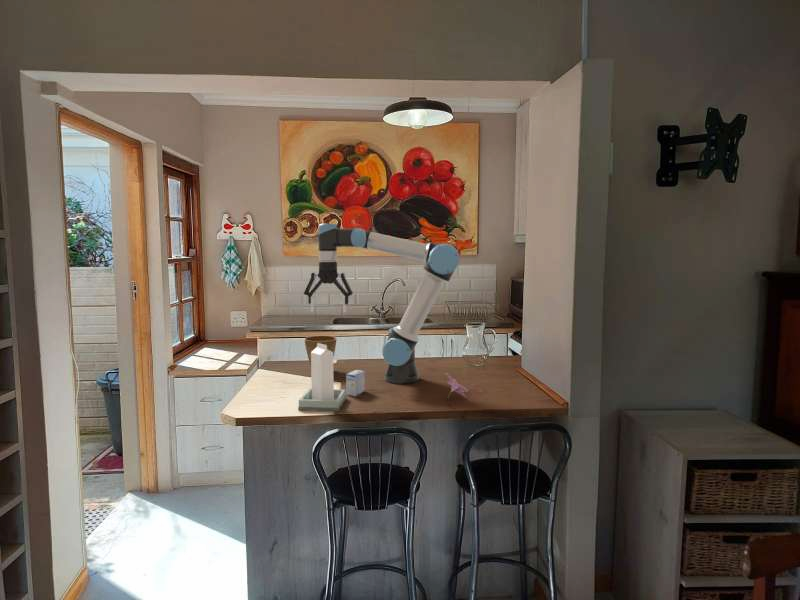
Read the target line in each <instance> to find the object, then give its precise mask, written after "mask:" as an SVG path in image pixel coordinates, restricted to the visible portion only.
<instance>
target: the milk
mask: <svg viewBox="0 0 800 600" xmlns="http://www.w3.org/2000/svg"><path fill="white" fill-rule="evenodd" d="M310 372H311V379H310V381H311V389H312V400H334V389H335V386H334V383H335V382H334V381H335V380H334V357H333V352H331V351H330V350H328V349H327V345H324V344H320V343H317V347H316V348H315V349H314V350H313V351H312V352H311V365H310Z"/></svg>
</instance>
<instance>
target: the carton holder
mask: <svg viewBox="0 0 800 600" xmlns="http://www.w3.org/2000/svg"><path fill="white" fill-rule="evenodd" d="M346 399H347V395H346V389H337V388H334V400H312V388H308V389H307V390H306V392H304V393H303V395H302V396H301V397H300V398H299V399H298V406H297V407H298V408H297V409H298V411H311V410H316V411H315V412H317V411H318V412H320V411H321V412H339V411H340V409H341V408H342V406H343V404H344V403H343V402H345V401H346ZM340 407H341V408H340Z"/></svg>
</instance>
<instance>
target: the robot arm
mask: <svg viewBox="0 0 800 600" xmlns="http://www.w3.org/2000/svg"><path fill="white" fill-rule="evenodd" d="M317 232H318V234H317V237H318V238H317V239H318V240H317V241H318V260H319V261H318V273H317V272H311V274H310V279H309V282H308V284H307V286H306V287H305V290H304V292H303V295H305V296H307V297H308V304H309V305H310V312H311V313H314V312H315V296H314V294H315V292H316V291H317V290H318V289H319V288H320V286H321V285H322V284H329V285H331V284H334V286H336V287H337V289H338V290H339V291H340V292H341V293H342V295H343V296H342V312H343V313H346V312H347V305H348V304H349V297H350V296H352V295H353V294H354V292H353V290H352V289H351V287H350V285H349V282H348V281H347V278H346V273H345V272H342V273H339V272H338V262H337V260H338V248H362V249H367V250H372V251H376V252H381V253H384V254H389V255H394V256H399V257H403V258H407V259H412V260H417V261H421V262H423V263H424V267H423V269H422V270H423V273H424V274H423V276H422V279H421V280H420V283H419V285H418V286H417V288H416V290H415V292H414V294H413V296H412V298H411V300H410V302H409V304H408V306H407V308H406V311H405V312H404V314H403V316H402V317H401V320H400V322H399V324H398V325H396V326H394V327H391V328H389V330H388V337H387V339H386V341H385V342H384V343H383V345H382V351H381V353H382V357H383V359H384V360H385V362H387V367H386V369H385V373H384V380H385V382H388V383H392V384H401V385H402V384H403V385H404V383H406V384H412V383H411V382H413V383H416V382H418V381H419V380H420V375H419V371H418V368H417V365H416V346H417V343H419V342H418V341H419V338H418V334H419V332H420V330H421V328H422V326H423V325H424V323H425V320H426V318H427V316H428V314H429V313H430V311H431V308H432V307H433V305H434V303H435V301H436V299H437V297H438V296H439V293H440V291H441V289H442V288H443V286H444V284H447V283H449V282H450V280H451V278H452V277H453V275H454V272H455V271H456V269H457V268H458V266H459V263H460V254H459V251H458V249H457V248H456V247H455V246H454V245H452V244H449V243H435V242H432V241H431V242H428V243H424V242H420V241H414V240H411V239H406V238H400V237H396V236H391V235H387V234H383V233H378V232H373V231H369V230H365V229H364V228H358V227H356V228H355V227H354V228H338V227H337V224H336V223H320V224H318V231H317ZM338 277H339V279H341V281H342V283H343V285H344V287H345V288H344V287H343V286H342V285H341V284H340V282H339V281H338V280H337V279H338ZM316 278H319V280H318V281H317V283H316V284H315V285H314V287H312V286H313V284H314V281H315V279H316ZM311 288H312V289H311ZM418 379H419V380H418ZM417 380H418V381H417ZM415 381H416V382H415Z"/></svg>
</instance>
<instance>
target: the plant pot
mask: <svg viewBox="0 0 800 600" xmlns="http://www.w3.org/2000/svg"><path fill="white" fill-rule="evenodd" d="M304 343H305V344H304V345H305V350H306V355H307V358H308V362H309V365H310V366H311V352H312V351H313V350H314V349H315V348H316V347H317V343H320V344H324V345H327V349H328V350H330V351H331V352H333V358H334V356H335V351H336V346H337V337H336V336H333V335H314V336H313V335H312V336H308V337H304Z"/></svg>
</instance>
